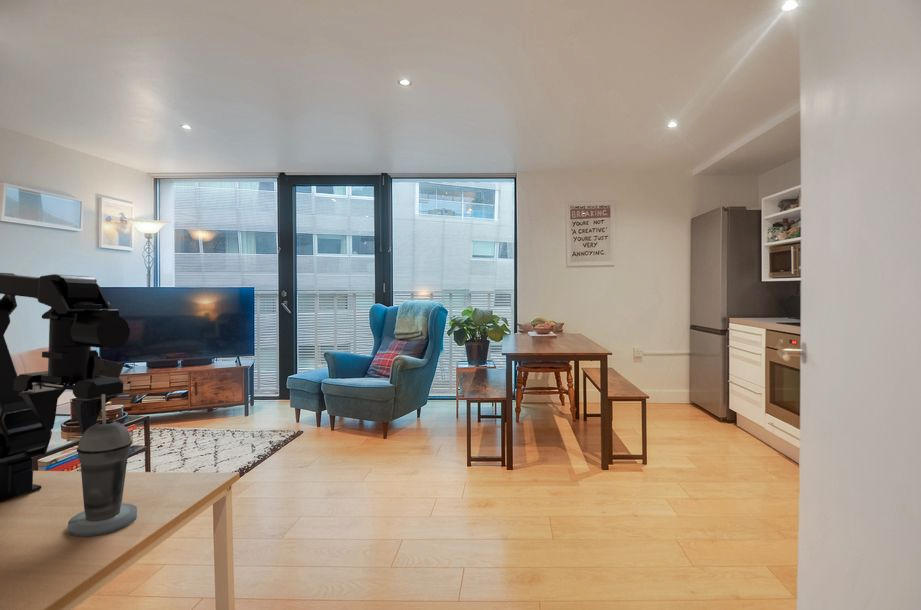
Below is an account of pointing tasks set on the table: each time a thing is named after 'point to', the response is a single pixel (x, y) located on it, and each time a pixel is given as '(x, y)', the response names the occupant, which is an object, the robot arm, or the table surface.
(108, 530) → the slate dish
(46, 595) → the table surface
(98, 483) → the beverage cup
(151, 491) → the table surface
